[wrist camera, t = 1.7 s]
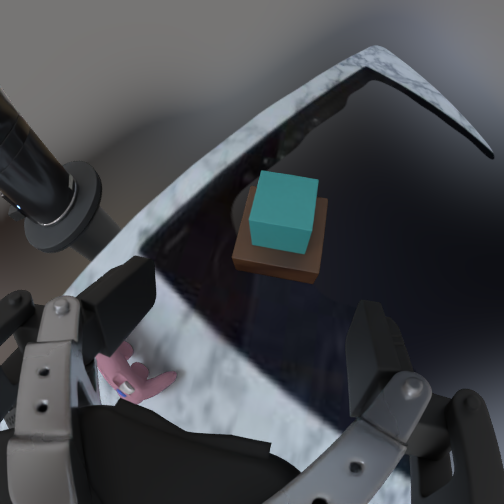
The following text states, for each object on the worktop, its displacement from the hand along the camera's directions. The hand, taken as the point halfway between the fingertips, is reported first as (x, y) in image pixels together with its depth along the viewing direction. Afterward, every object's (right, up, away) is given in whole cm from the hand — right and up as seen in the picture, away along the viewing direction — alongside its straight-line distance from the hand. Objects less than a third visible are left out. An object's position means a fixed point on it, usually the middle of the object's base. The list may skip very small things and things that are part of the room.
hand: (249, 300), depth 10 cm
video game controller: (-13, -11, +19) cm, 25 cm away
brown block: (+4, +3, +23) cm, 24 cm away
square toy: (+3, +5, +20) cm, 20 cm away
